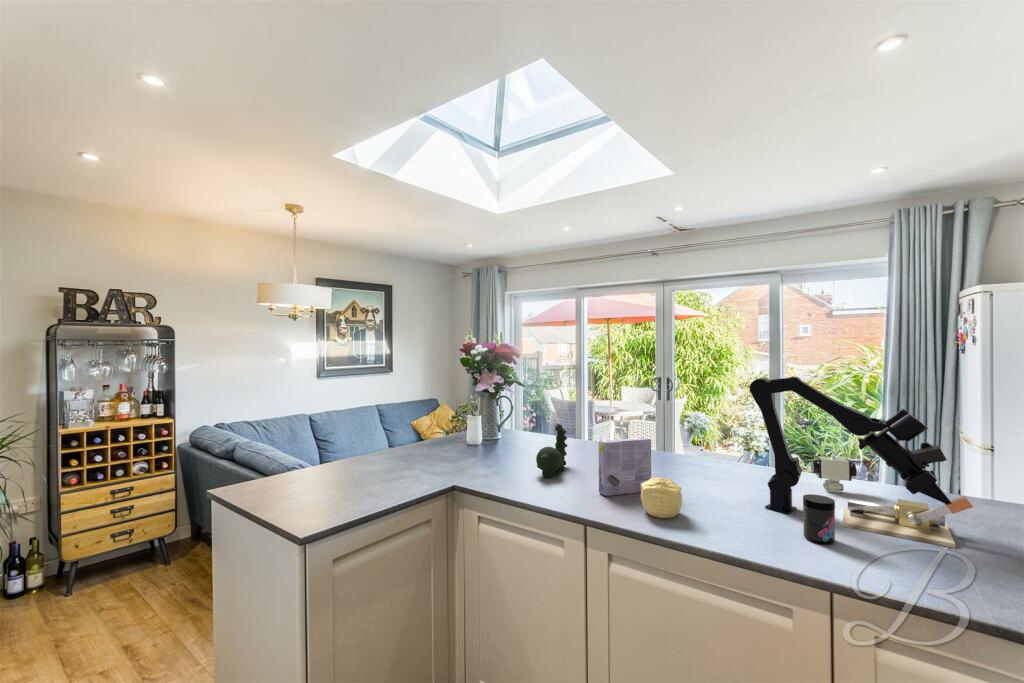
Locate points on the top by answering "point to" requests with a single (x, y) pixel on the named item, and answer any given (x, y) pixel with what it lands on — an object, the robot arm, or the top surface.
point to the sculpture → (661, 497)
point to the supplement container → (819, 519)
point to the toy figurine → (553, 455)
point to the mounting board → (897, 529)
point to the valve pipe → (896, 512)
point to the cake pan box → (624, 465)
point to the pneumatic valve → (833, 471)
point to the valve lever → (939, 511)
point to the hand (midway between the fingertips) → (948, 503)
